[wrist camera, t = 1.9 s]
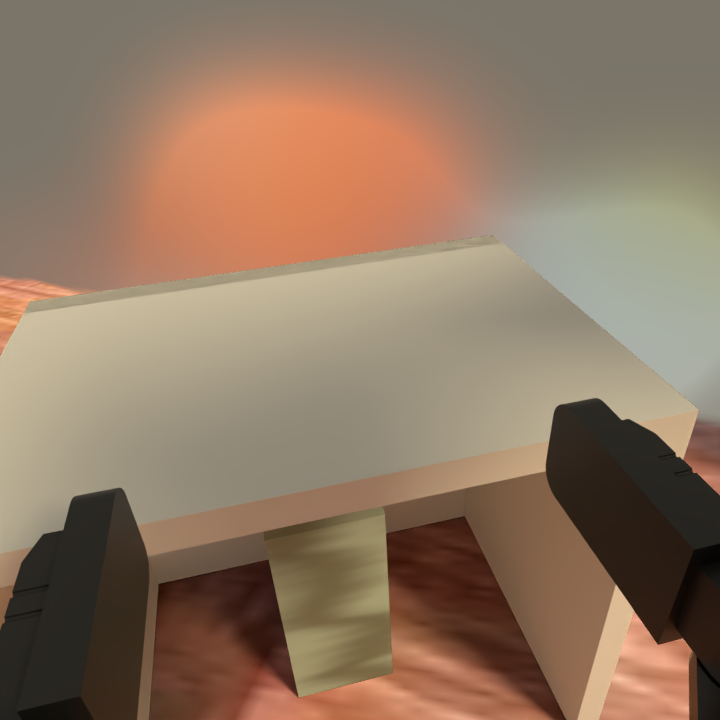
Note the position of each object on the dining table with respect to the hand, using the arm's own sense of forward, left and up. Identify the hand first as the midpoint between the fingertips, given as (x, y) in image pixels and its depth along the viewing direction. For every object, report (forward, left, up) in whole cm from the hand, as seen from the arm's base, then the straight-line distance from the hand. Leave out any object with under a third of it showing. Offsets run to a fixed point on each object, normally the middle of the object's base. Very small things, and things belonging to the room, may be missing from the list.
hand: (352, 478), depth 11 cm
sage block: (0, -11, -23) cm, 26 cm away
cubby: (0, -11, -23) cm, 25 cm away
